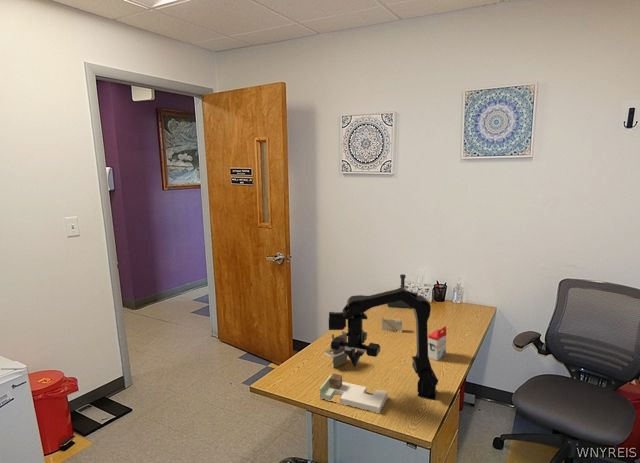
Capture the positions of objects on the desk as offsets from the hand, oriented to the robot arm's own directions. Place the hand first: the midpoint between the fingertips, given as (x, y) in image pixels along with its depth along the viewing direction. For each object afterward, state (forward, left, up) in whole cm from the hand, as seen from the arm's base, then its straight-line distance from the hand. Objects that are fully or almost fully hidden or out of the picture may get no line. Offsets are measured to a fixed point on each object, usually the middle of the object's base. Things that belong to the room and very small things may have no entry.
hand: (355, 366), depth 151 cm
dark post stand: (+6, -111, -12) cm, 111 cm away
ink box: (-25, -45, -12) cm, 52 cm away
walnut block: (+8, +1, -10) cm, 12 cm away
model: (+2, -65, -13) cm, 66 cm away
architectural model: (+16, -21, -13) cm, 29 cm away
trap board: (0, +2, -12) cm, 12 cm away
